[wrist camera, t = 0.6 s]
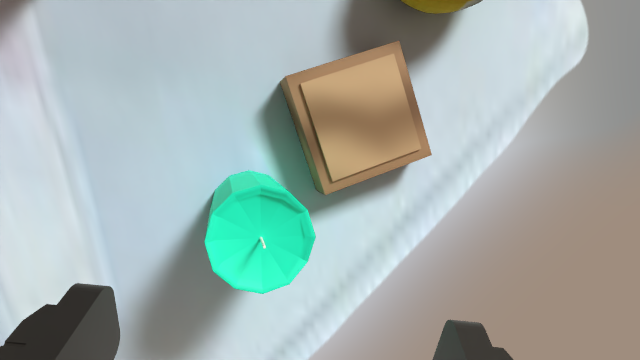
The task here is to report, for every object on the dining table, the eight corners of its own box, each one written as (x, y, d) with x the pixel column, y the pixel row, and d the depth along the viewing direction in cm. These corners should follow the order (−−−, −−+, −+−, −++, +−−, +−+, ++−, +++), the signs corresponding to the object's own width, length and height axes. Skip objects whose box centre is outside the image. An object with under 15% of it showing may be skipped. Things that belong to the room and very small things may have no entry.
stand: (279, 81, 32) (286, 75, 29) (384, 48, 34) (400, 39, 31) (316, 190, 34) (326, 195, 31) (414, 153, 35) (433, 155, 32)
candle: (236, 260, 33) (244, 327, 21) (194, 196, 32) (178, 229, 20) (301, 219, 34) (342, 262, 22) (262, 156, 33) (285, 165, 21)
